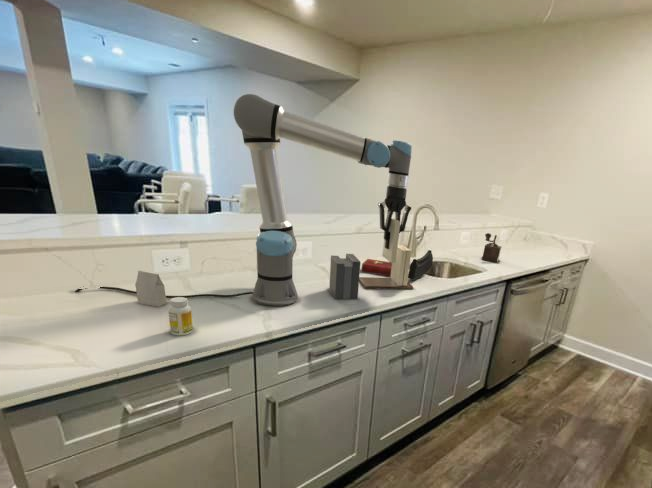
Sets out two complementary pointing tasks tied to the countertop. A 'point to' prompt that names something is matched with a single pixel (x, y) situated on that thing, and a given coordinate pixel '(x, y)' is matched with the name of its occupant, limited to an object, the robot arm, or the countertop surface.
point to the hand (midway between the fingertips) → (389, 248)
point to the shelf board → (381, 283)
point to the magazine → (420, 266)
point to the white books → (401, 266)
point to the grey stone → (150, 289)
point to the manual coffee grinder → (491, 250)
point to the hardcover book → (377, 267)
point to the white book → (392, 241)
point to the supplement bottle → (180, 316)
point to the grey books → (344, 277)
